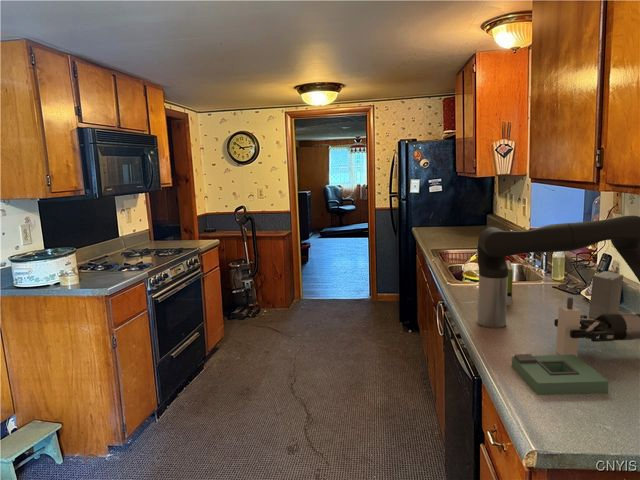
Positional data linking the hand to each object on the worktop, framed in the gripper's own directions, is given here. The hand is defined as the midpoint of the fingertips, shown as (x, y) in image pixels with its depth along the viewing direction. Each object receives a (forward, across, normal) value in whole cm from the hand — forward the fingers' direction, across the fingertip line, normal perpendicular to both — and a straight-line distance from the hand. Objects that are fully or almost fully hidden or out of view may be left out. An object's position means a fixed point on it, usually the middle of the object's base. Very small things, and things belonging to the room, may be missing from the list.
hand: (562, 328), depth 128 cm
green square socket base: (+8, +14, +8) cm, 18 cm away
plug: (-2, 0, +8) cm, 8 cm away
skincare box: (-30, -28, +8) cm, 42 cm away
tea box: (-2, -52, +8) cm, 53 cm away
